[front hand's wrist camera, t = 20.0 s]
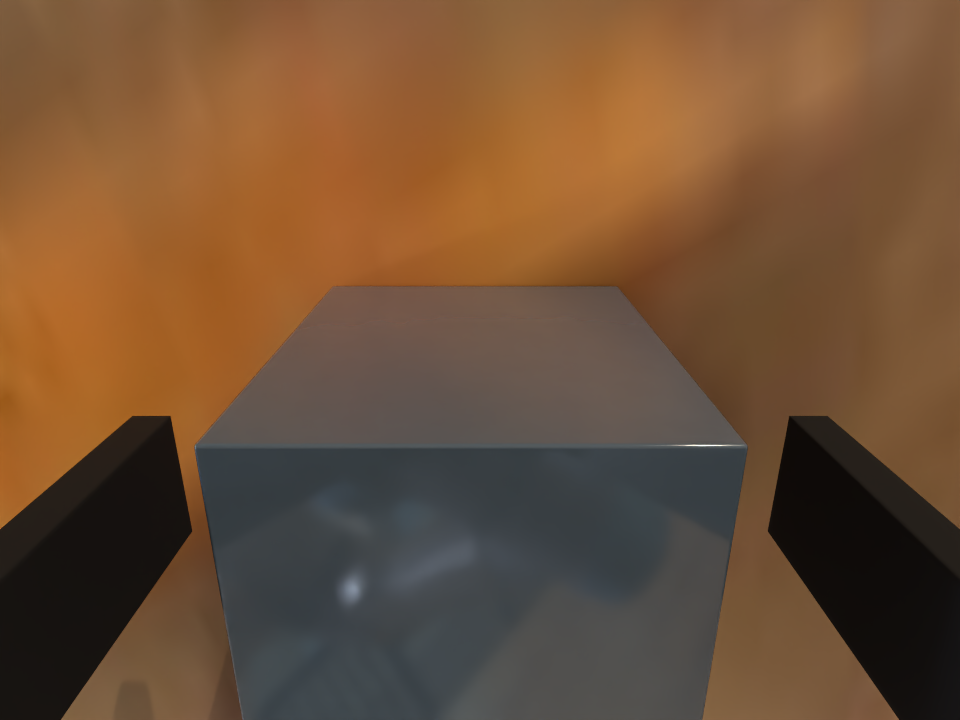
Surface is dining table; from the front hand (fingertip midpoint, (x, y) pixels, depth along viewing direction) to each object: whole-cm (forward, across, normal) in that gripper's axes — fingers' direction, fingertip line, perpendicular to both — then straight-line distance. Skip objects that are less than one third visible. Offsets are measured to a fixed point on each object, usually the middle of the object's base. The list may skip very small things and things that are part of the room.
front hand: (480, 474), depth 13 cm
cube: (+3, 0, 0) cm, 3 cm away
